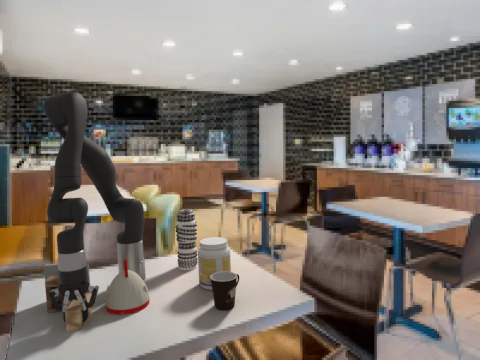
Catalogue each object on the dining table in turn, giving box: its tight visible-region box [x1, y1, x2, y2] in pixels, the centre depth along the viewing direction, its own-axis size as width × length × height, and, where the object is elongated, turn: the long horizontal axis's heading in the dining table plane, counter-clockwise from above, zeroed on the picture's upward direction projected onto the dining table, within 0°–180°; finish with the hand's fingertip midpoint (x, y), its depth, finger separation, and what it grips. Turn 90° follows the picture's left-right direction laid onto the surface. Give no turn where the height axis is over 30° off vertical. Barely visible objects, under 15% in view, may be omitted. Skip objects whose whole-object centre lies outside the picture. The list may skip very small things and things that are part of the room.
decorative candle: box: [175, 208, 199, 271], centre depth 153 cm, size 9×9×25 cm
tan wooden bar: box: [65, 293, 93, 332], centre depth 109 cm, size 4×12×6 cm, turn 8°
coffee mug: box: [210, 271, 240, 311], centre depth 117 cm, size 12×9×10 cm
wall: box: [43, 260, 91, 293], centre depth 124 cm, size 14×2×13 cm, turn 98°
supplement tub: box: [197, 236, 232, 291], centre depth 134 cm, size 12×12×17 cm
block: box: [44, 275, 73, 313], centre depth 118 cm, size 8×5×10 cm, turn 98°
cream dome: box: [105, 260, 150, 316], centre depth 119 cm, size 14×14×15 cm
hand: (76, 321), depth 106 cm, fingers closed on tan wooden bar, 4 cm apart
